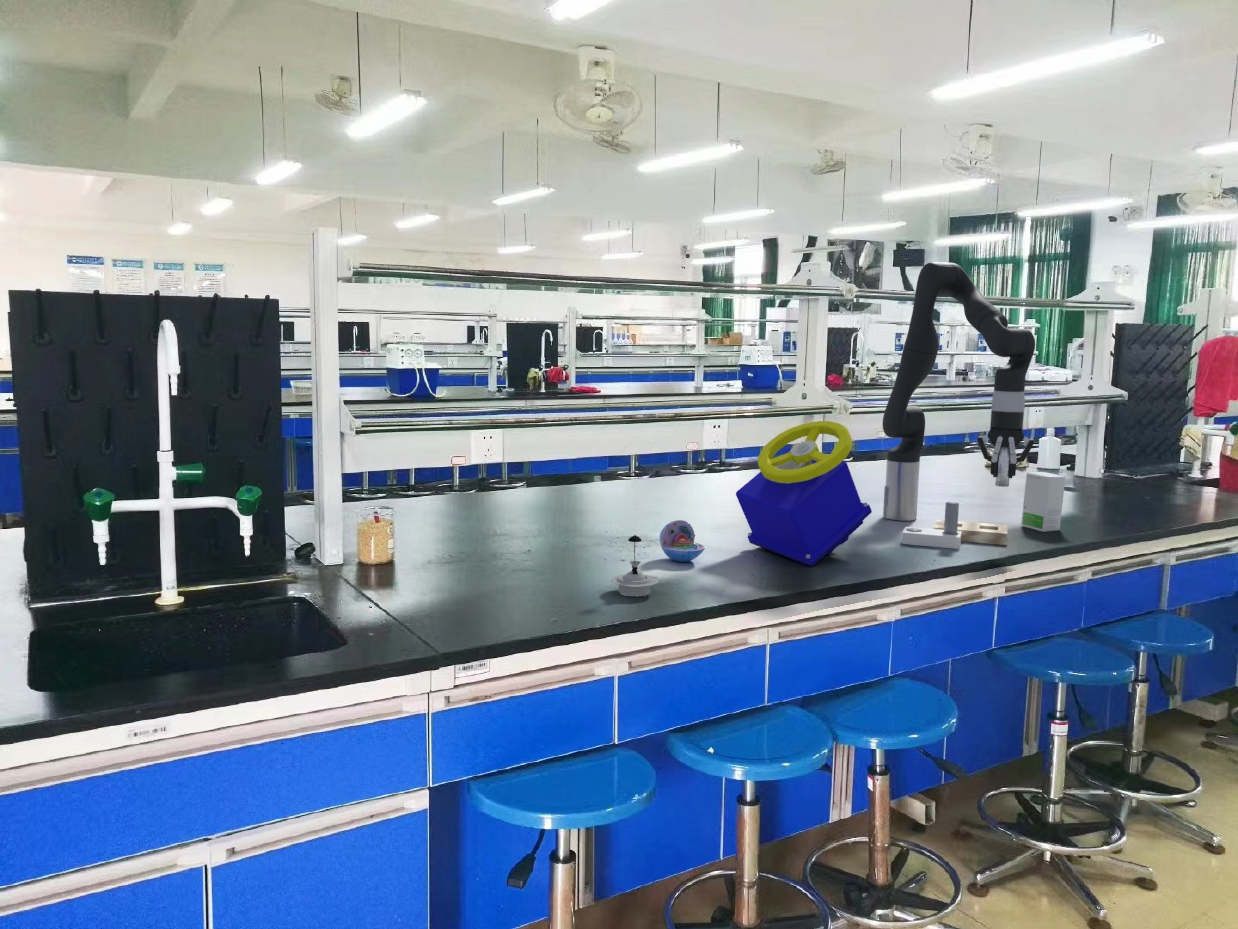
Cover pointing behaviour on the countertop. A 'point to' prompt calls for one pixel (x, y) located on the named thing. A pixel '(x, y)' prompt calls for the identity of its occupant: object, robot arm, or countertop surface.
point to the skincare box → (1043, 501)
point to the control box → (803, 495)
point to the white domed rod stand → (634, 578)
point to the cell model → (679, 541)
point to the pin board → (979, 532)
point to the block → (937, 531)
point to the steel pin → (1003, 467)
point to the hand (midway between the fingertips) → (1002, 477)
